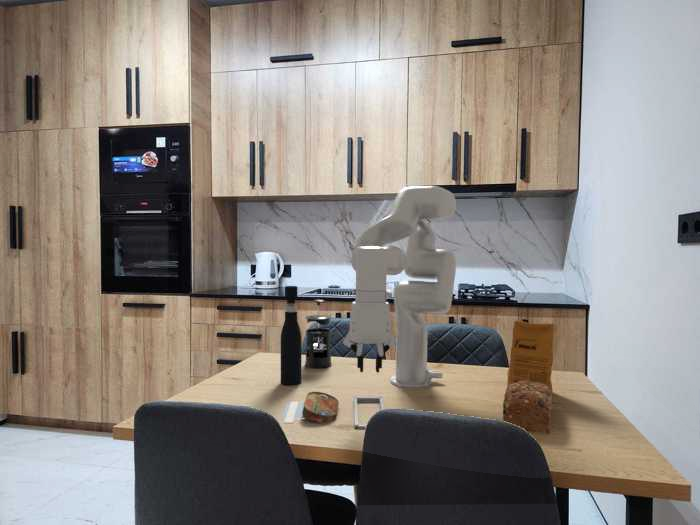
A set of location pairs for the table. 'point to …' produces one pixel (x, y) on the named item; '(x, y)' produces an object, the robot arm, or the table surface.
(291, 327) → the black water bottle
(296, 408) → the ticket board
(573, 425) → the table surface
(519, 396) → the bread
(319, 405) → the tin
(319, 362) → the french press
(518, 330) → the coffee package
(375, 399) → the tray
